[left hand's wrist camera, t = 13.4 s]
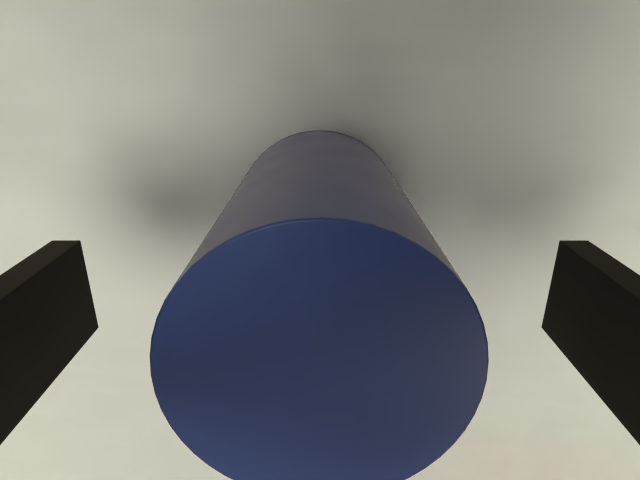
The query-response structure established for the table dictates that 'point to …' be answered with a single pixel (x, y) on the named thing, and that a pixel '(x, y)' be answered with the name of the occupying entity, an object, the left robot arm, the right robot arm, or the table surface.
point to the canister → (319, 326)
